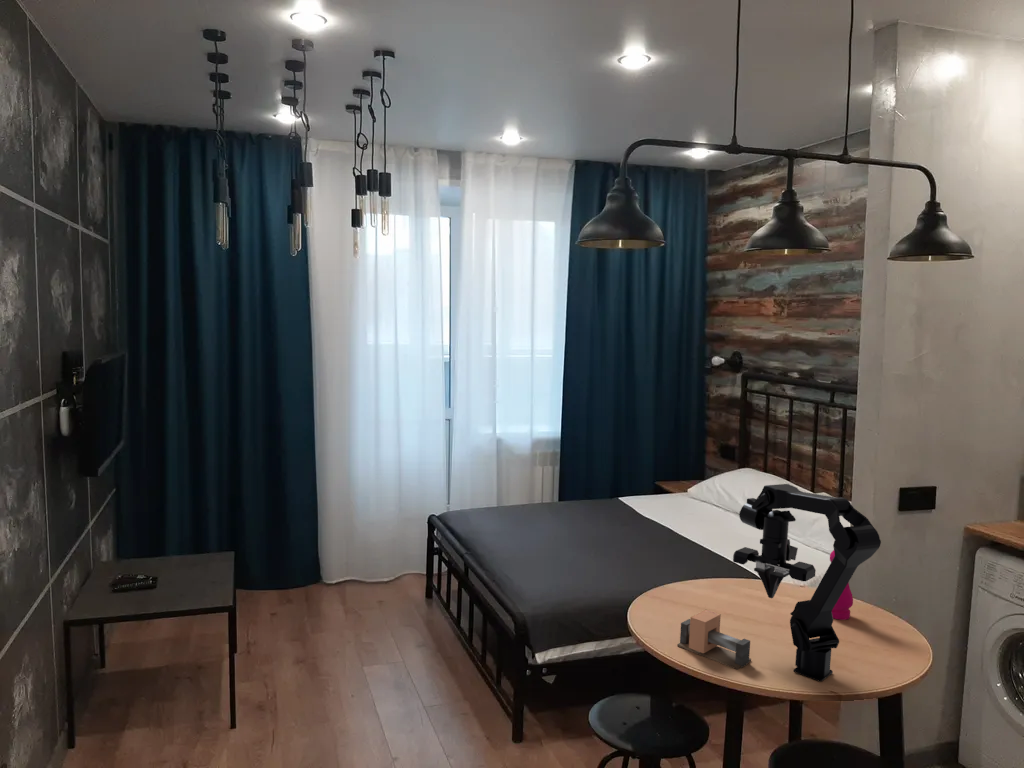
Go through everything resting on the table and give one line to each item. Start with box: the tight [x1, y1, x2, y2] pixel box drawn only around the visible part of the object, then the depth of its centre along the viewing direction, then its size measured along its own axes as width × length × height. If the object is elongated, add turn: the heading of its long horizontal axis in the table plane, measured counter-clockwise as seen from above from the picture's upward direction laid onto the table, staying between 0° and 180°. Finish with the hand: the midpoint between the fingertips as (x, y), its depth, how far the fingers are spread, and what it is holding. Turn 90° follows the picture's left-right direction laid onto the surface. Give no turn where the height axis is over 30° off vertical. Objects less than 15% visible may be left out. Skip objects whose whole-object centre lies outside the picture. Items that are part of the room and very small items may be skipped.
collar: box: [689, 609, 722, 654], centre depth 185 cm, size 4×7×8 cm, turn 135°
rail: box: [677, 618, 752, 670], centre depth 184 cm, size 16×6×5 cm, turn 45°
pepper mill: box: [829, 549, 854, 621], centre depth 208 cm, size 7×7×20 cm
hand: (771, 597), depth 188 cm, fingers closed
